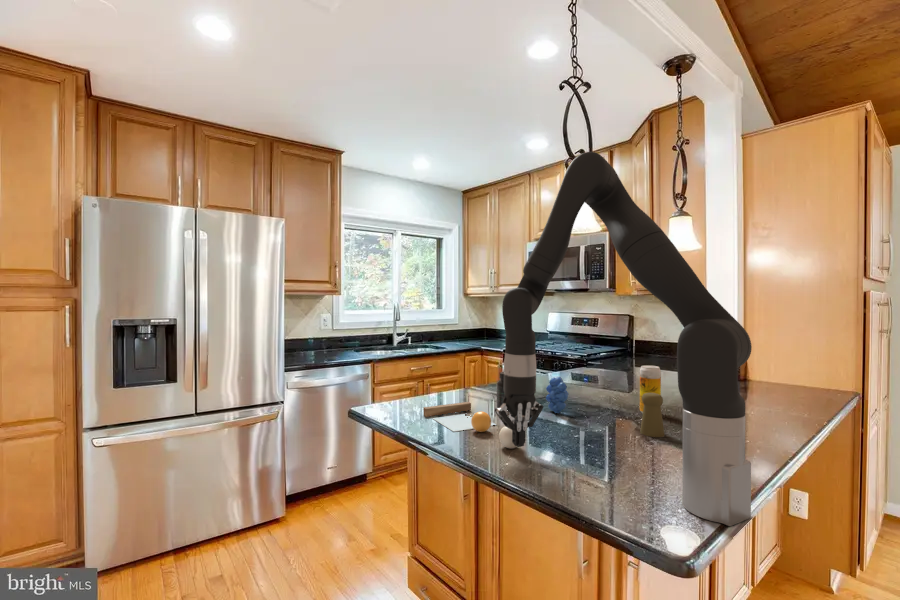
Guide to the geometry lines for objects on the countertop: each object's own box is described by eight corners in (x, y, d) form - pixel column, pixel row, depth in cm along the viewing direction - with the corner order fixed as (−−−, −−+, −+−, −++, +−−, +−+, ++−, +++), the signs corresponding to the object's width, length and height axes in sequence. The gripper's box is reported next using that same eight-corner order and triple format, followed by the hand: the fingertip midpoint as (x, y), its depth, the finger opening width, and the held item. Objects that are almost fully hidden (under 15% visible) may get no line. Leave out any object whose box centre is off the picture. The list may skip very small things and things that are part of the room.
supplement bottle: (506, 405, 145) (506, 370, 145) (521, 409, 140) (521, 373, 140) (492, 408, 141) (492, 372, 141) (507, 412, 135) (507, 375, 135)
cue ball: (526, 449, 102) (526, 427, 102) (507, 453, 100) (507, 430, 100) (513, 442, 107) (513, 421, 107) (494, 446, 105) (494, 423, 105)
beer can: (635, 412, 136) (635, 365, 136) (648, 410, 139) (648, 364, 139) (651, 417, 131) (651, 368, 131) (665, 414, 133) (665, 367, 133)
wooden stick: (471, 410, 138) (471, 403, 138) (425, 416, 130) (425, 408, 130) (468, 409, 139) (468, 401, 139) (423, 415, 132) (423, 407, 132)
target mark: (496, 425, 122) (496, 424, 122) (453, 432, 116) (453, 431, 116) (472, 413, 134) (472, 412, 134) (432, 418, 128) (432, 418, 128)
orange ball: (495, 433, 115) (495, 412, 115) (477, 436, 112) (477, 415, 112) (484, 427, 120) (484, 408, 120) (467, 430, 117) (467, 410, 117)
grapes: (578, 417, 130) (578, 378, 130) (558, 419, 128) (558, 379, 128) (559, 408, 141) (560, 372, 141) (541, 409, 140) (541, 373, 140)
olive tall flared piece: (667, 438, 111) (667, 396, 111) (643, 436, 112) (643, 395, 112) (660, 430, 117) (661, 391, 117) (637, 429, 118) (637, 390, 118)
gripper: (505, 377, 93) (504, 455, 93) (552, 373, 99) (551, 446, 99) (487, 371, 99) (486, 444, 100) (532, 367, 105) (531, 436, 106)
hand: (518, 445), depth 99 cm, fingers closed
